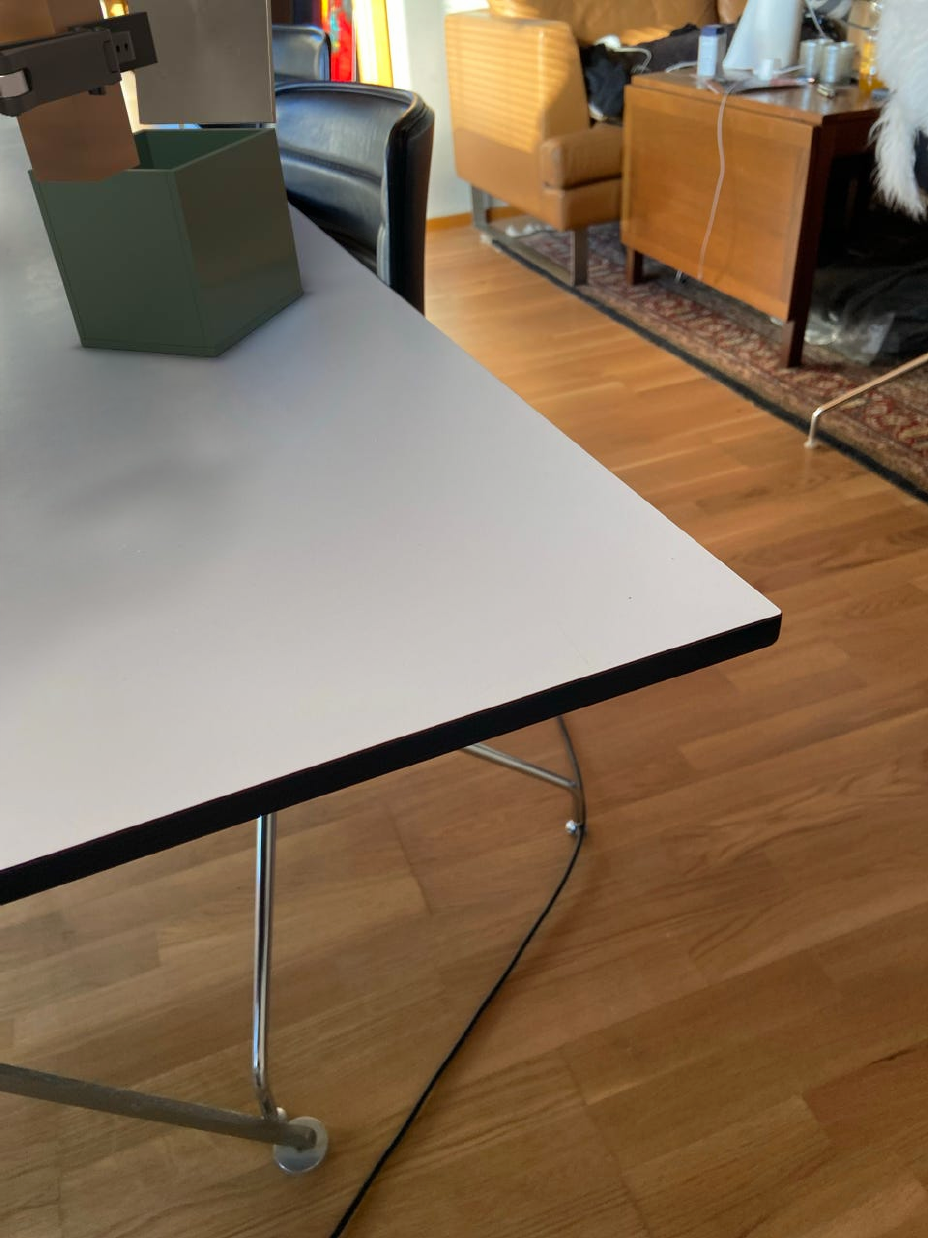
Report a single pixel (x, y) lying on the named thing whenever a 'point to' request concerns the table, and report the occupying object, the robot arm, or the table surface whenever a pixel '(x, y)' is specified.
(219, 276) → the trash can
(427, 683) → the table surface
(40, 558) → the table surface
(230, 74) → the bin lid
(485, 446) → the table surface
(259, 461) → the table surface
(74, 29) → the robot arm
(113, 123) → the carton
